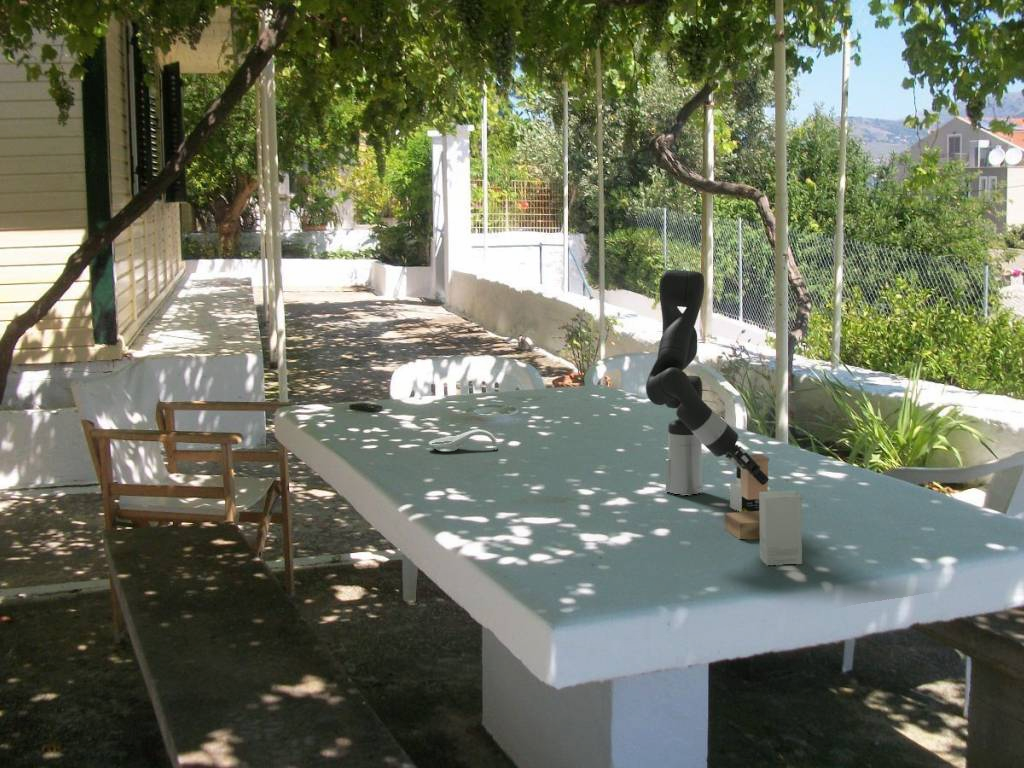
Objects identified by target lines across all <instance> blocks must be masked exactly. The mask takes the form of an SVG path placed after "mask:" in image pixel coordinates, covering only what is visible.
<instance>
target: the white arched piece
mask: <svg viewBox="0 0 1024 768" xmlns="http://www.w3.org/2000/svg"><path fill="white" fill-rule="evenodd" d="M475 435H483V436H487V438H489V439H490V440H491V441H492V445H497V446H498V443H497V439H496V438H495V436H494V435H493V433H491V432H490V431H487V430H485V429H478V428H477V429H473V430H468V431H467V432H463V433H461V434H458V435H453V436H447V437H439V438H435V439H432V440H431V441H429V442H428V445H429V446H430V447H431V446H434V447H454V446H460V445H464V443H465V442H466V441H468V440H469V439H470V438H471V437H473V436H475ZM444 441H452V442H449V443H444V444H432V443H435V442H444Z"/></svg>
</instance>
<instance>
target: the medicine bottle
mask: <svg viewBox="0 0 1024 768" xmlns="http://www.w3.org/2000/svg"><path fill="white" fill-rule="evenodd" d="M729 490H730V491H729V493H730V494H729V498H730V499H729V508H730V509H732V510H734V511H736V510H737V511H736V512H738V511H739V512H754V511H759V499H751V500H747V499H746V498H744V497H742V496H741V468H740V467H737V466H736V480H735V481H730V483H729Z"/></svg>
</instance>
